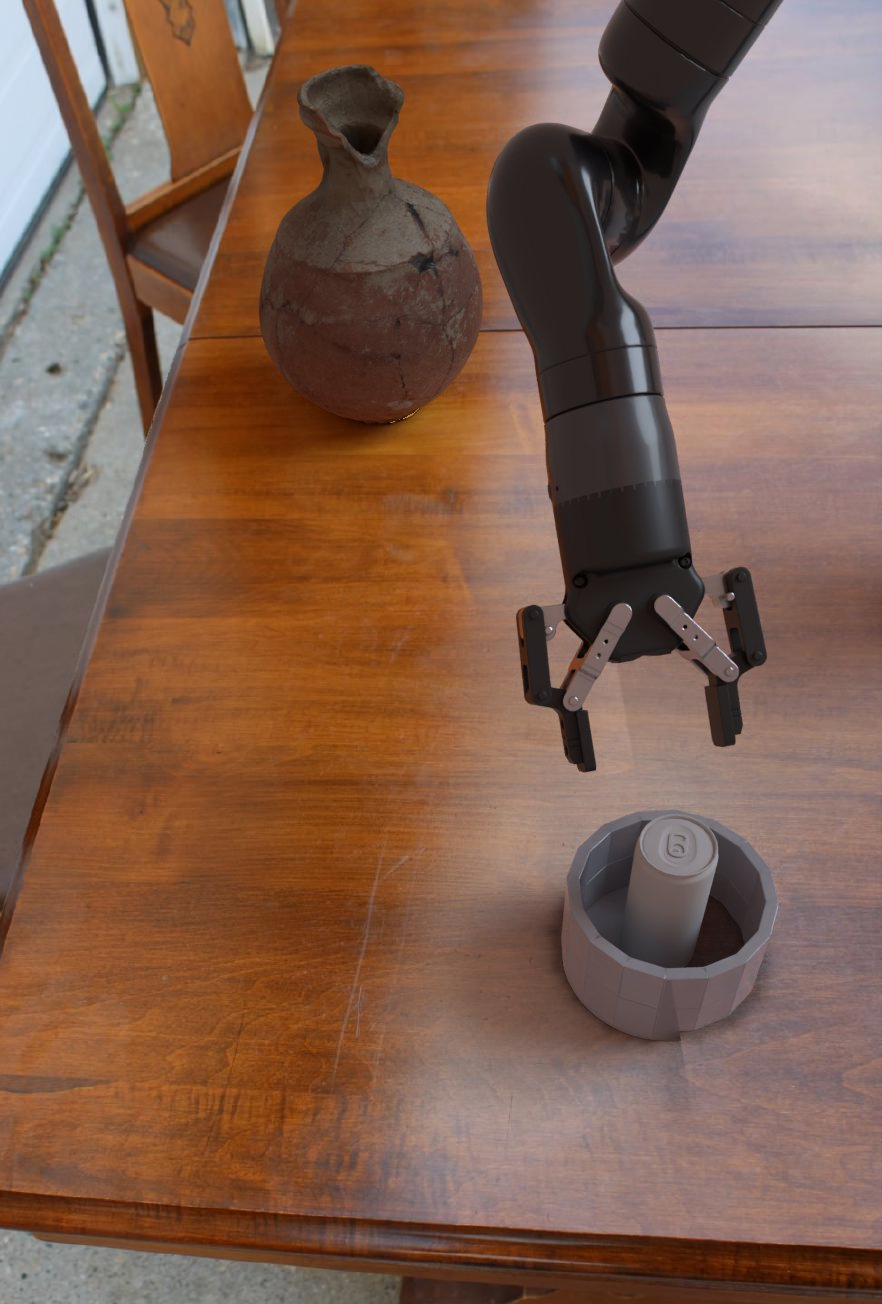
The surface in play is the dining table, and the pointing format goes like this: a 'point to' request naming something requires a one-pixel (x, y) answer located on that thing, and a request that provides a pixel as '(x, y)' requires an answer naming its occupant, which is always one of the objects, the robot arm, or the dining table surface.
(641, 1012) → the pot
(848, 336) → the dining table surface
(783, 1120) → the dining table surface
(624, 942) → the beverage can
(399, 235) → the jug
